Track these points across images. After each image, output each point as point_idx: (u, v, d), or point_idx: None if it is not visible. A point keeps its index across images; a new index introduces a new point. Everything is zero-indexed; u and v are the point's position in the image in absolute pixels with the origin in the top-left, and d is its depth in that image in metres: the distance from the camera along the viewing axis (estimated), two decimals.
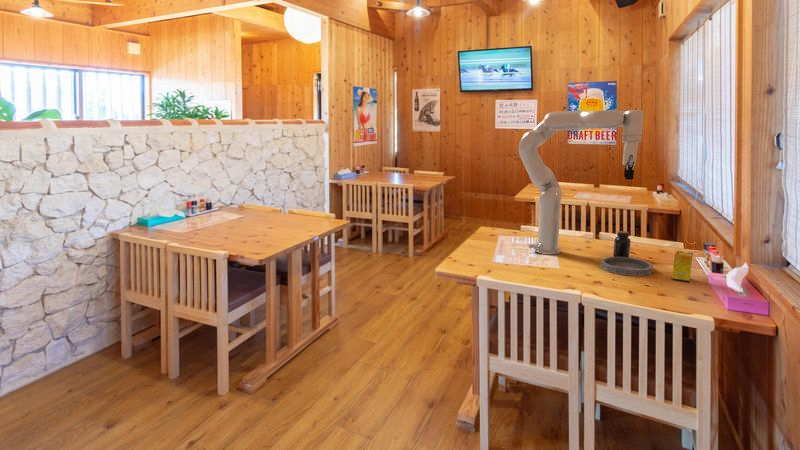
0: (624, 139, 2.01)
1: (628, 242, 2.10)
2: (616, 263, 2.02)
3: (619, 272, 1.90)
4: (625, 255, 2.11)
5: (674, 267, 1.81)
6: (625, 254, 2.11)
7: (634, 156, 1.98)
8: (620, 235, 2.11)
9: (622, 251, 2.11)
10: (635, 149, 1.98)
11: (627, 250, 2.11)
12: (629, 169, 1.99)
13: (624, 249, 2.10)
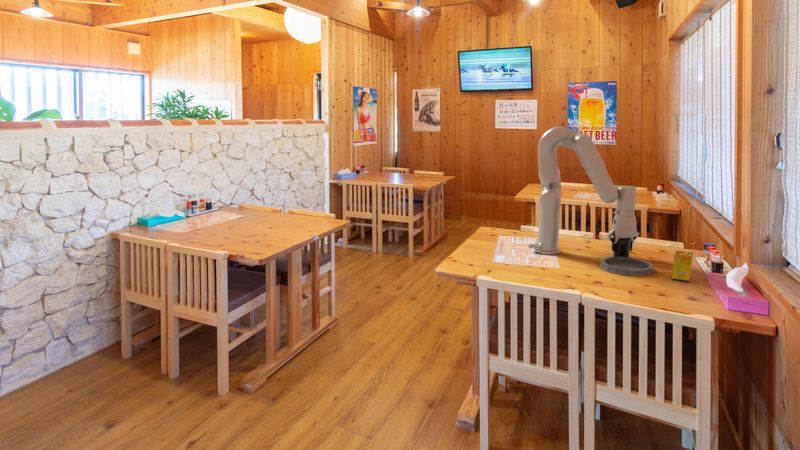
0: (633, 214, 2.08)
1: (628, 242, 2.10)
2: (616, 263, 2.02)
3: (619, 272, 1.90)
4: (625, 255, 2.11)
5: (674, 267, 1.81)
6: (625, 254, 2.11)
7: None
8: None
9: (622, 251, 2.11)
10: None
11: (627, 250, 2.11)
12: None
13: (624, 249, 2.10)
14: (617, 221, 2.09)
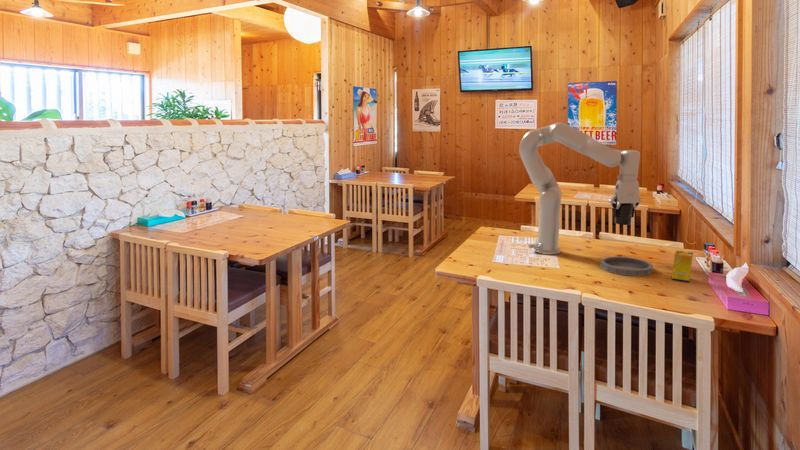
0: (636, 178, 2.04)
1: (630, 208, 2.07)
2: (616, 263, 2.02)
3: (619, 272, 1.90)
4: (627, 221, 2.08)
5: (674, 267, 1.81)
6: (626, 220, 2.08)
7: None
8: None
9: (624, 217, 2.08)
10: None
11: (629, 216, 2.07)
12: None
13: (626, 215, 2.07)
14: (620, 186, 2.05)
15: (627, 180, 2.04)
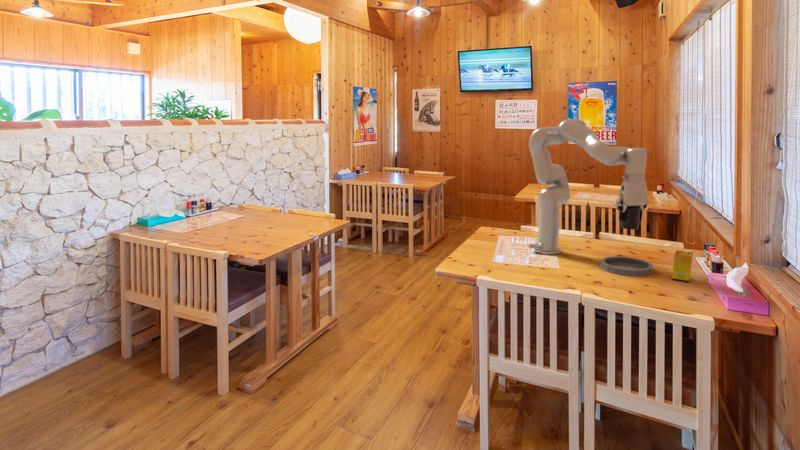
0: (644, 178, 1.87)
1: (638, 210, 1.89)
2: (616, 263, 2.02)
3: (619, 272, 1.90)
4: (634, 225, 1.90)
5: (674, 267, 1.81)
6: (634, 224, 1.90)
7: None
8: None
9: (631, 221, 1.90)
10: None
11: (636, 219, 1.90)
12: None
13: (634, 218, 1.90)
14: (625, 187, 1.88)
15: (634, 180, 1.86)
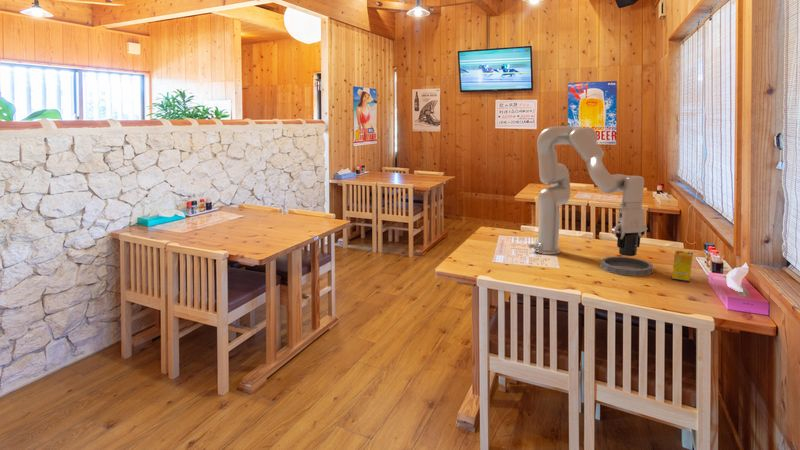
0: (641, 206, 1.89)
1: (635, 237, 1.92)
2: (616, 263, 2.02)
3: (619, 272, 1.90)
4: (632, 252, 1.92)
5: (674, 267, 1.81)
6: (632, 250, 1.92)
7: None
8: None
9: (629, 248, 1.92)
10: None
11: (634, 246, 1.92)
12: None
13: (632, 245, 1.92)
14: (623, 214, 1.90)
15: (631, 208, 1.89)
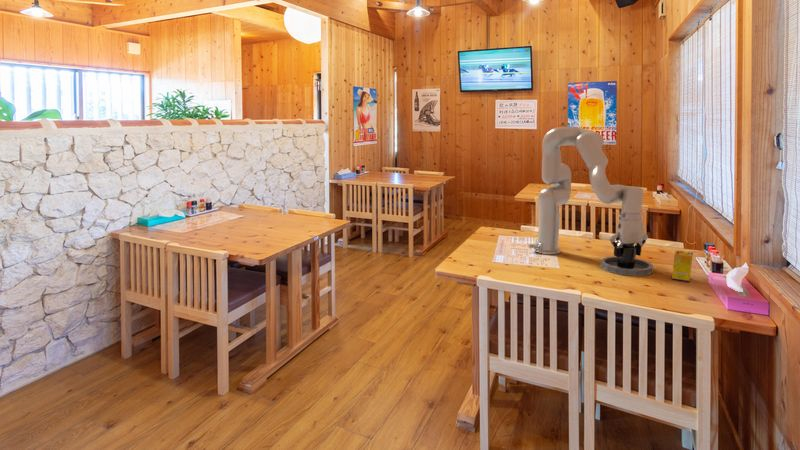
0: (640, 217, 1.90)
1: (633, 250, 1.93)
2: (616, 263, 2.02)
3: (619, 272, 1.90)
4: (630, 265, 1.94)
5: (674, 267, 1.81)
6: (630, 263, 1.94)
7: None
8: None
9: (627, 261, 1.94)
10: None
11: (632, 259, 1.94)
12: None
13: (630, 258, 1.93)
14: (622, 225, 1.91)
15: (630, 219, 1.90)
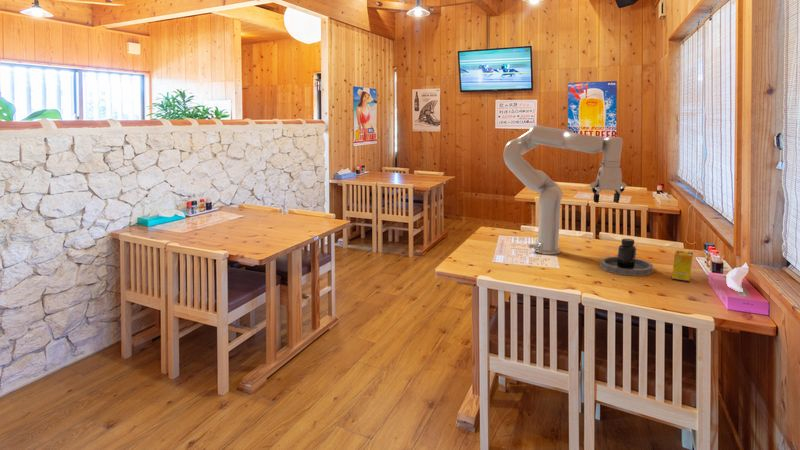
0: (618, 165, 2.04)
1: (633, 250, 1.93)
2: (616, 263, 2.02)
3: (619, 272, 1.90)
4: (630, 265, 1.94)
5: (674, 267, 1.81)
6: (630, 263, 1.94)
7: None
8: (625, 243, 1.94)
9: (627, 261, 1.94)
10: None
11: (632, 259, 1.94)
12: None
13: (630, 258, 1.93)
14: (601, 172, 2.05)
15: (609, 167, 2.04)
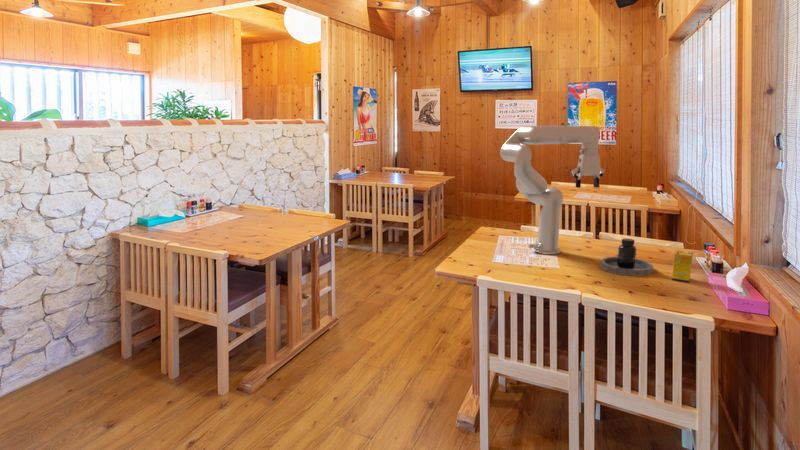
0: (597, 152, 2.22)
1: (633, 250, 1.93)
2: (616, 263, 2.02)
3: (619, 272, 1.90)
4: (630, 264, 1.94)
5: (674, 267, 1.81)
6: (630, 263, 1.94)
7: None
8: (625, 243, 1.94)
9: (627, 260, 1.94)
10: None
11: (632, 259, 1.94)
12: None
13: (629, 258, 1.93)
14: (582, 159, 2.23)
15: (588, 154, 2.22)
